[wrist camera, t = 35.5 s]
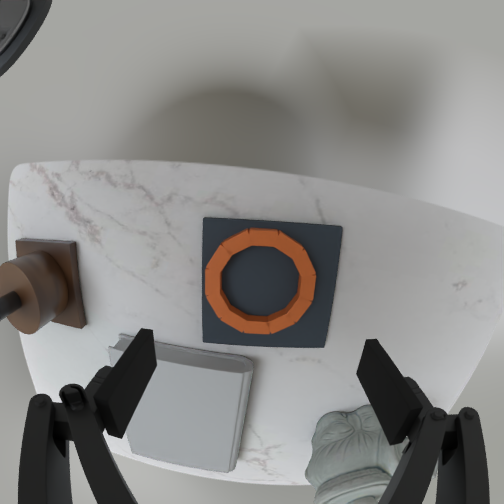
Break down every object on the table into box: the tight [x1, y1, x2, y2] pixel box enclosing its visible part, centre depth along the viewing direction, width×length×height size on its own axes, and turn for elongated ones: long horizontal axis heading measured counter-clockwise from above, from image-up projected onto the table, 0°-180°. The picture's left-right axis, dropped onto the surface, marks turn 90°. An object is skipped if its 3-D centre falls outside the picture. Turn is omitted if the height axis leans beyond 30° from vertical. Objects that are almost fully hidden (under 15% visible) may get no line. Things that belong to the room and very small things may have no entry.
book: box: [108, 334, 254, 473], centre depth 34 cm, size 18×4×24 cm
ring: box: [205, 228, 316, 334], centre depth 30 cm, size 12×12×2 cm
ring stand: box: [0, 239, 86, 334], centre depth 26 cm, size 12×12×12 cm
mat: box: [202, 217, 343, 348], centre depth 31 cm, size 15×15×1 cm
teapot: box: [305, 405, 438, 504], centre depth 28 cm, size 16×15×19 cm
